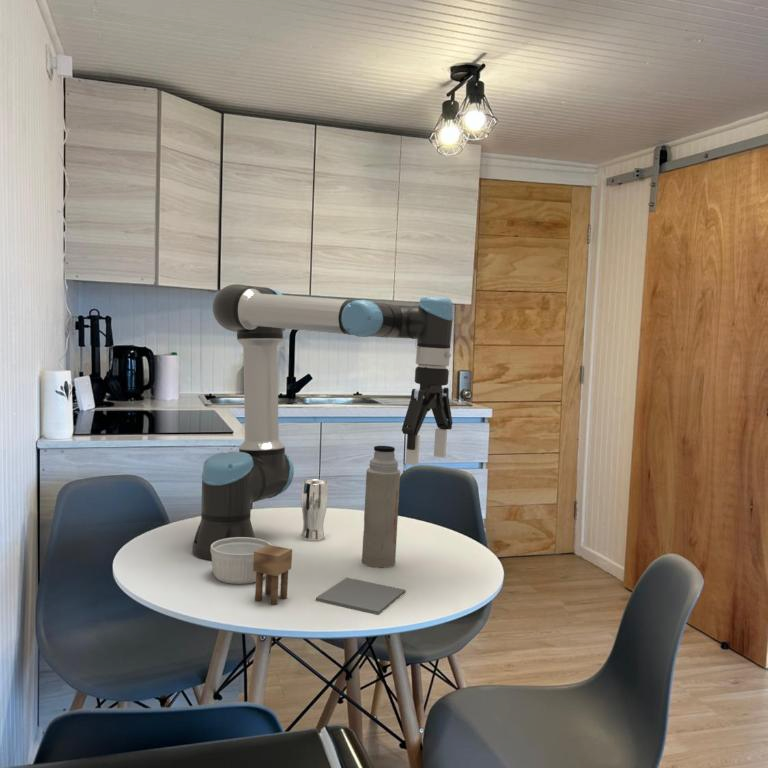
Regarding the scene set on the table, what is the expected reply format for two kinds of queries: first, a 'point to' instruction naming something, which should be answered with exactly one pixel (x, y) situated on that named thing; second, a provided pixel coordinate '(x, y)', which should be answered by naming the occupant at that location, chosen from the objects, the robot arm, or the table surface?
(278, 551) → the stool
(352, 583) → the mat
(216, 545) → the ramekin
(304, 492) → the silver cocktail shaker
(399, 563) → the table surface
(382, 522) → the thermos bottle
